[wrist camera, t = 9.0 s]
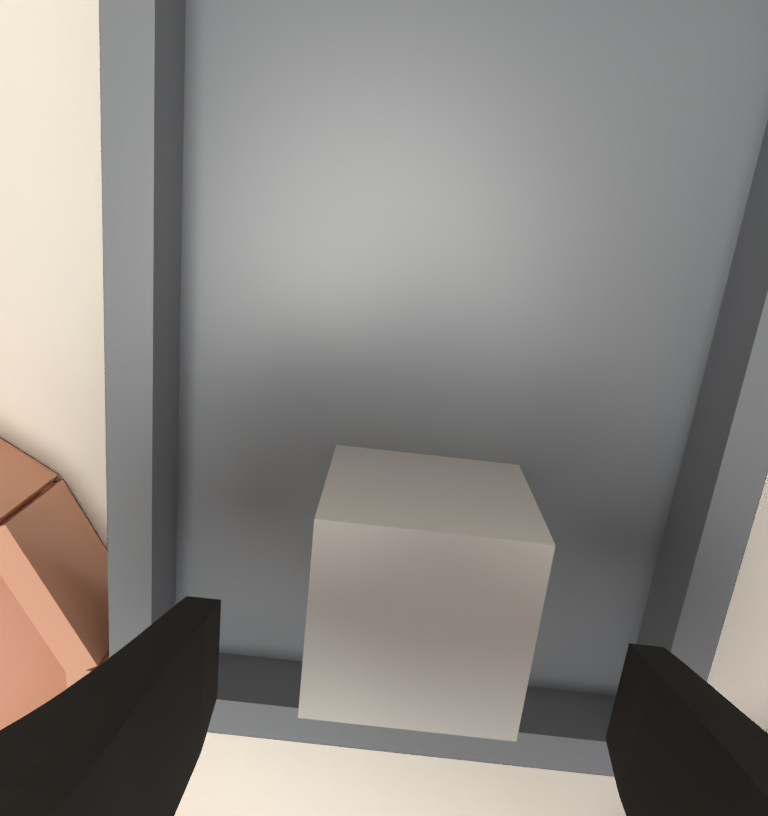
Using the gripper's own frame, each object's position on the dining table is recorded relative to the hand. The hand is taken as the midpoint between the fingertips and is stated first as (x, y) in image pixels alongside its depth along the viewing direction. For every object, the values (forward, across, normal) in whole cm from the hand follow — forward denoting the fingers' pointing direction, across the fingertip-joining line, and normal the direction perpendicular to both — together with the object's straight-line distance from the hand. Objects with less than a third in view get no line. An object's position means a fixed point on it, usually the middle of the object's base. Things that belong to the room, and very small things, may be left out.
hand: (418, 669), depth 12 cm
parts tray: (+6, 0, -4) cm, 7 cm away
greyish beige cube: (+5, 0, 0) cm, 5 cm away
